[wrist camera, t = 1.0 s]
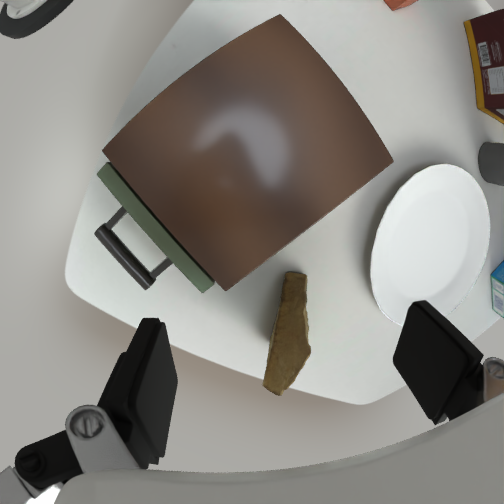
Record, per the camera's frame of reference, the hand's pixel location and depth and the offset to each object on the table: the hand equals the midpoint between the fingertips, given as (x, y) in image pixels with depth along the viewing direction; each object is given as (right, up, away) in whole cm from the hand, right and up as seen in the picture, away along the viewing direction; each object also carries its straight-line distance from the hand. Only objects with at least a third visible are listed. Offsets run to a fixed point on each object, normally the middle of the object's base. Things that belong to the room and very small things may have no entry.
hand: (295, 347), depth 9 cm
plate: (+21, +4, +20) cm, 29 cm away
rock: (+3, -4, +21) cm, 22 cm away
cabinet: (-2, +13, +15) cm, 20 cm away
